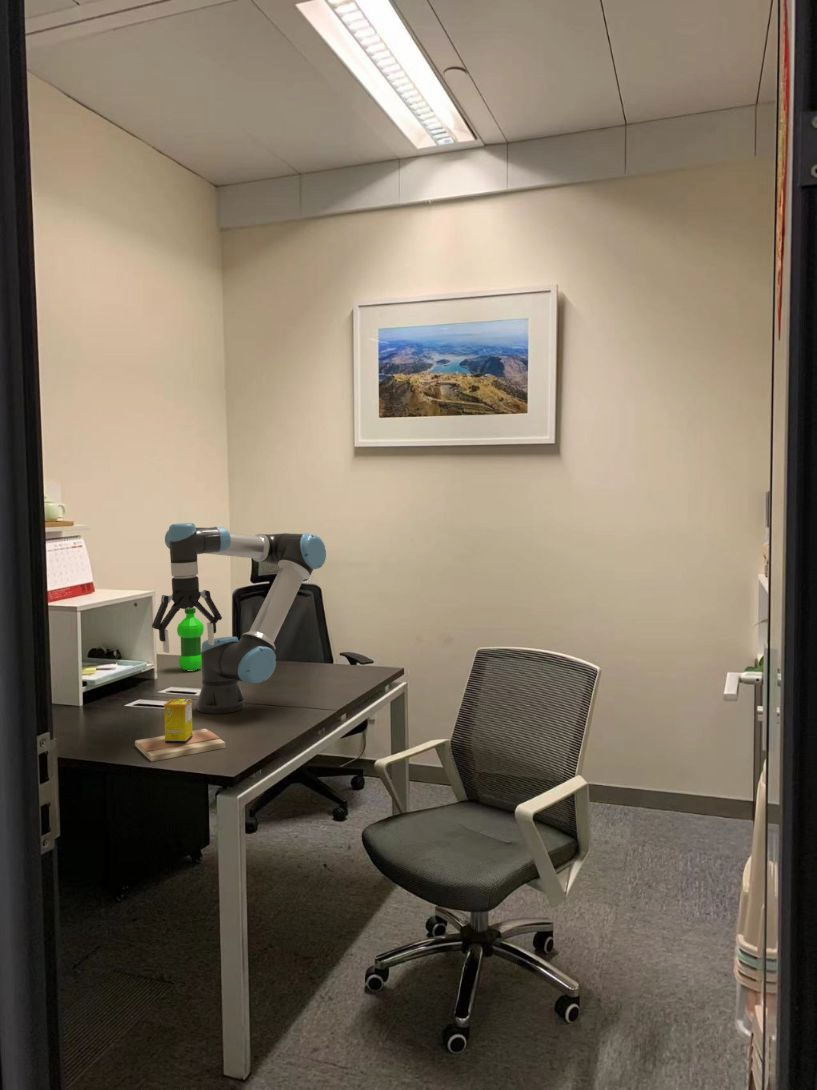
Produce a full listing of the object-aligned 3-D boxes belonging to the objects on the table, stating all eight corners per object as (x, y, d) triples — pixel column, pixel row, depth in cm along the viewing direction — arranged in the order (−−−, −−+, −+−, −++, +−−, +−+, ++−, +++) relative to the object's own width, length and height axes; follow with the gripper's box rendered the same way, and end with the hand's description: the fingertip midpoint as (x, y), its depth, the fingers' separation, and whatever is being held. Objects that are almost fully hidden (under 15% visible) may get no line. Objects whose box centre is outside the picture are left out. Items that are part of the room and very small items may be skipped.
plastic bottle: (199, 673, 309) (197, 610, 308) (173, 672, 311) (172, 610, 309) (208, 667, 319) (207, 607, 318) (184, 667, 321) (182, 606, 319)
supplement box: (172, 737, 219) (171, 698, 218) (193, 737, 219) (192, 698, 218) (164, 743, 213) (163, 704, 212) (186, 743, 213) (185, 704, 212)
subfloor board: (205, 733, 228) (205, 727, 228) (225, 747, 215) (225, 741, 215) (135, 745, 217) (135, 739, 217) (151, 761, 204) (151, 754, 204)
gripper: (220, 571, 238) (224, 639, 240) (137, 579, 223) (142, 653, 225) (230, 573, 232) (234, 643, 234) (146, 582, 217) (151, 657, 219)
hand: (189, 648), depth 229 cm, fingers open, 13 cm apart
